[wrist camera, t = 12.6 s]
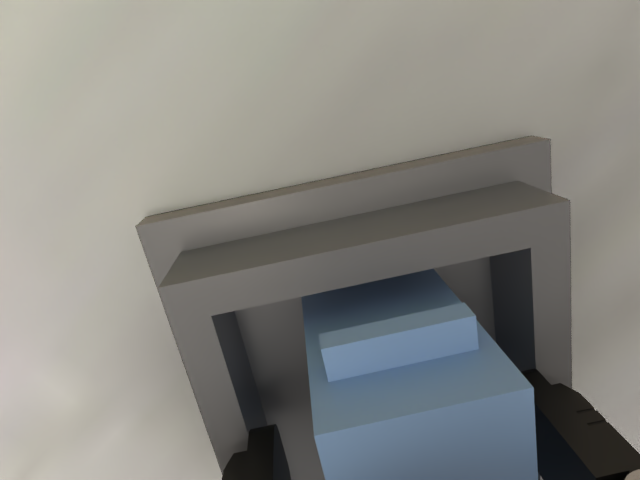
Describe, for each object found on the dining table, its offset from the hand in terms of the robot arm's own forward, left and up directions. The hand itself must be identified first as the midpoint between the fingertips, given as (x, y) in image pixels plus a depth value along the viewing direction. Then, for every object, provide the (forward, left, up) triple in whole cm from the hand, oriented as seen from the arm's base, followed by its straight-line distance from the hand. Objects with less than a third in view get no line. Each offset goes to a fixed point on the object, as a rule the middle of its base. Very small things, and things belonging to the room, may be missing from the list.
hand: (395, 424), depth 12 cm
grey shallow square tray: (0, 0, -3) cm, 3 cm away
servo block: (0, 0, -2) cm, 2 cm away
